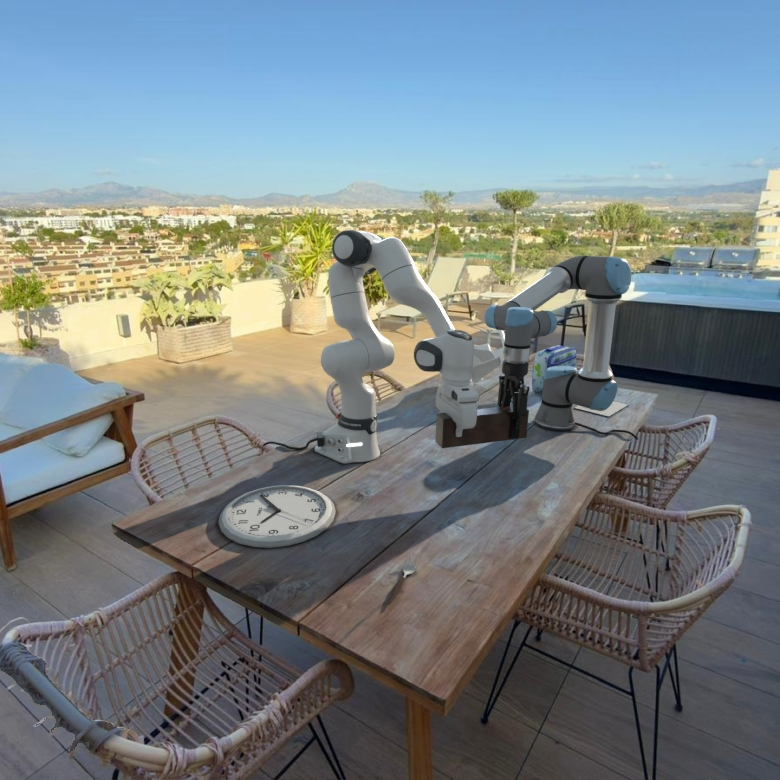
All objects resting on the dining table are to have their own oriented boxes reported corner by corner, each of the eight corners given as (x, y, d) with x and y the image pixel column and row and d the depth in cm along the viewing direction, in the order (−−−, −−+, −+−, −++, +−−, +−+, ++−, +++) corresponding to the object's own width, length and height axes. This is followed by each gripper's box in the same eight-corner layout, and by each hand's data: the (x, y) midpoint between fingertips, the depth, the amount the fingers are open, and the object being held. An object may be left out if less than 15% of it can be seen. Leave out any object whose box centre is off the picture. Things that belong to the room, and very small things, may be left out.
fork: (383, 605, 105) (383, 597, 105) (407, 560, 120) (408, 552, 119) (395, 608, 104) (395, 600, 104) (418, 562, 119) (419, 555, 118)
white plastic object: (461, 429, 252) (437, 405, 227) (444, 352, 274) (420, 323, 250) (535, 404, 240) (518, 377, 215) (510, 326, 262) (492, 293, 237)
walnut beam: (517, 432, 164) (520, 405, 161) (526, 438, 160) (529, 410, 157) (435, 442, 156) (436, 413, 153) (442, 448, 151) (443, 419, 149)
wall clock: (334, 539, 124) (204, 543, 122) (334, 545, 125) (205, 549, 122) (336, 480, 153) (231, 483, 150) (336, 485, 153) (231, 488, 151)
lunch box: (548, 398, 236) (553, 353, 229) (527, 393, 243) (531, 349, 237) (575, 387, 253) (581, 344, 247) (555, 382, 260) (560, 341, 254)
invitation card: (608, 416, 214) (573, 407, 224) (608, 416, 214) (573, 408, 224) (628, 404, 229) (594, 396, 238) (628, 405, 229) (594, 397, 238)
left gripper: (431, 378, 158) (429, 420, 162) (461, 399, 139) (458, 446, 144) (450, 376, 160) (448, 419, 164) (482, 397, 141) (478, 444, 146)
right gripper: (489, 354, 160) (484, 425, 167) (520, 369, 144) (513, 447, 151) (511, 353, 163) (505, 422, 170) (544, 367, 146) (536, 444, 153)
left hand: (453, 432), depth 154 cm, fingers closed on walnut beam, 5 cm apart
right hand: (509, 434), depth 160 cm, fingers closed on walnut beam, 5 cm apart
